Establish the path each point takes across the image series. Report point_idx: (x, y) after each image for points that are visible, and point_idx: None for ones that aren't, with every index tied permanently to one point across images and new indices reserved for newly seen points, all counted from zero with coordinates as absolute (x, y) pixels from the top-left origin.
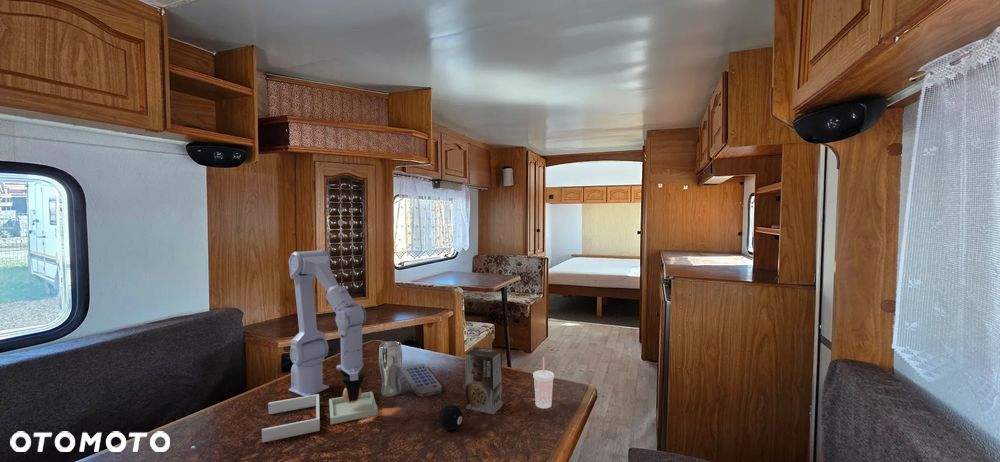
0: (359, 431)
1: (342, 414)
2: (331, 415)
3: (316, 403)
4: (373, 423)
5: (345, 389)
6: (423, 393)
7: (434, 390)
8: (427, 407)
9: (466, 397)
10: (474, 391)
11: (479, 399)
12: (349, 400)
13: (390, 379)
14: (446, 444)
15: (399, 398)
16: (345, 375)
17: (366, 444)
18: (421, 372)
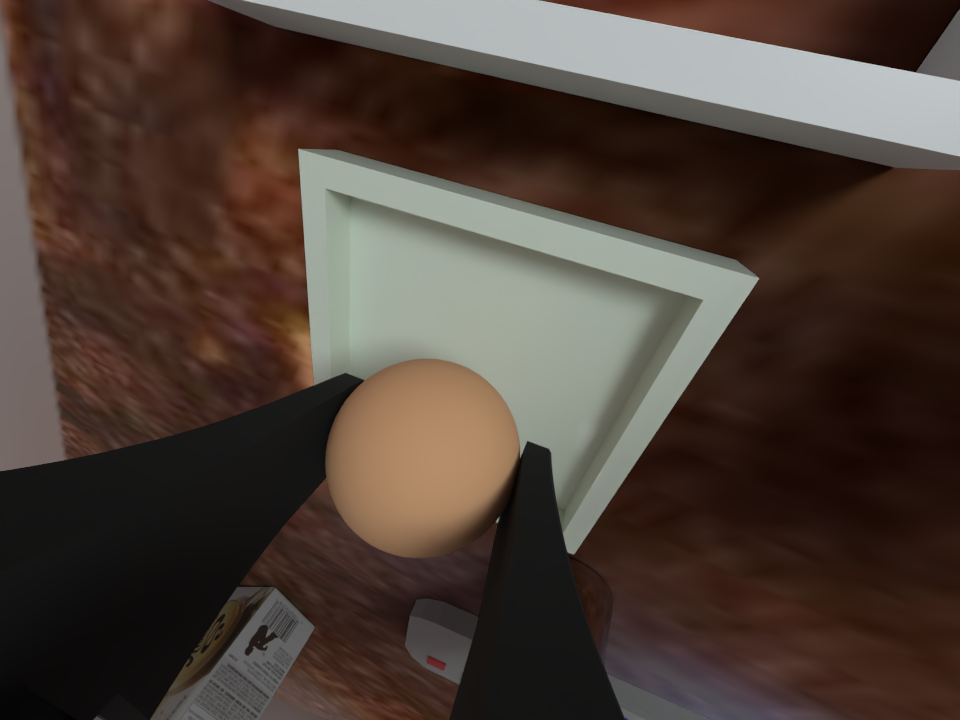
0: (207, 283)
1: (328, 263)
2: (347, 174)
3: (634, 28)
4: (267, 370)
5: (380, 441)
6: (410, 615)
7: (408, 639)
8: (323, 553)
9: (240, 627)
10: (197, 656)
11: (210, 627)
12: (337, 376)
13: None
14: (100, 446)
15: (456, 560)
16: (482, 684)
17: (95, 260)
18: None
